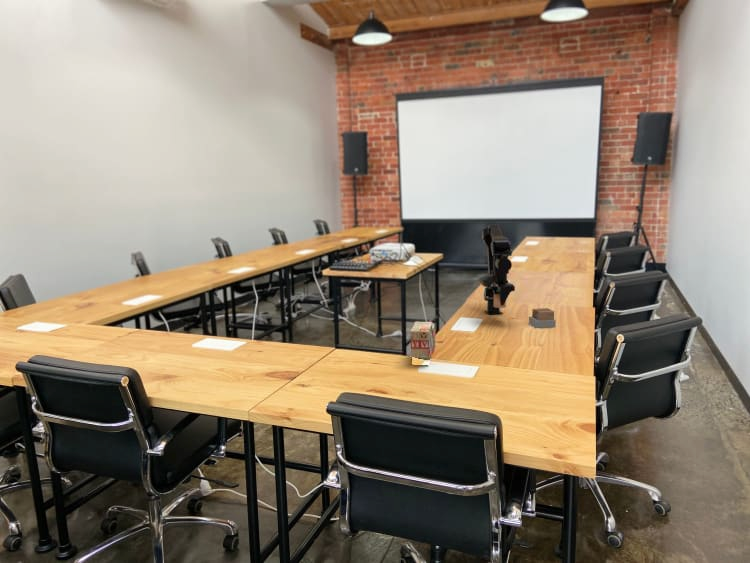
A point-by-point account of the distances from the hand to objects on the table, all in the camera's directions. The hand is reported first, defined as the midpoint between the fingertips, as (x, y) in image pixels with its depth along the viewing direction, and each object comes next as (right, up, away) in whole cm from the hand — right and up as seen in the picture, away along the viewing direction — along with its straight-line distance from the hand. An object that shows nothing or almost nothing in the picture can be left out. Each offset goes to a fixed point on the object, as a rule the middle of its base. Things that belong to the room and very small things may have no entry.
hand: (499, 304), depth 233 cm
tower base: (+16, -9, -6) cm, 20 cm away
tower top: (+17, -6, -7) cm, 19 cm away
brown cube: (0, -1, 0) cm, 1 cm away
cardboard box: (-36, -17, -41) cm, 57 cm away
